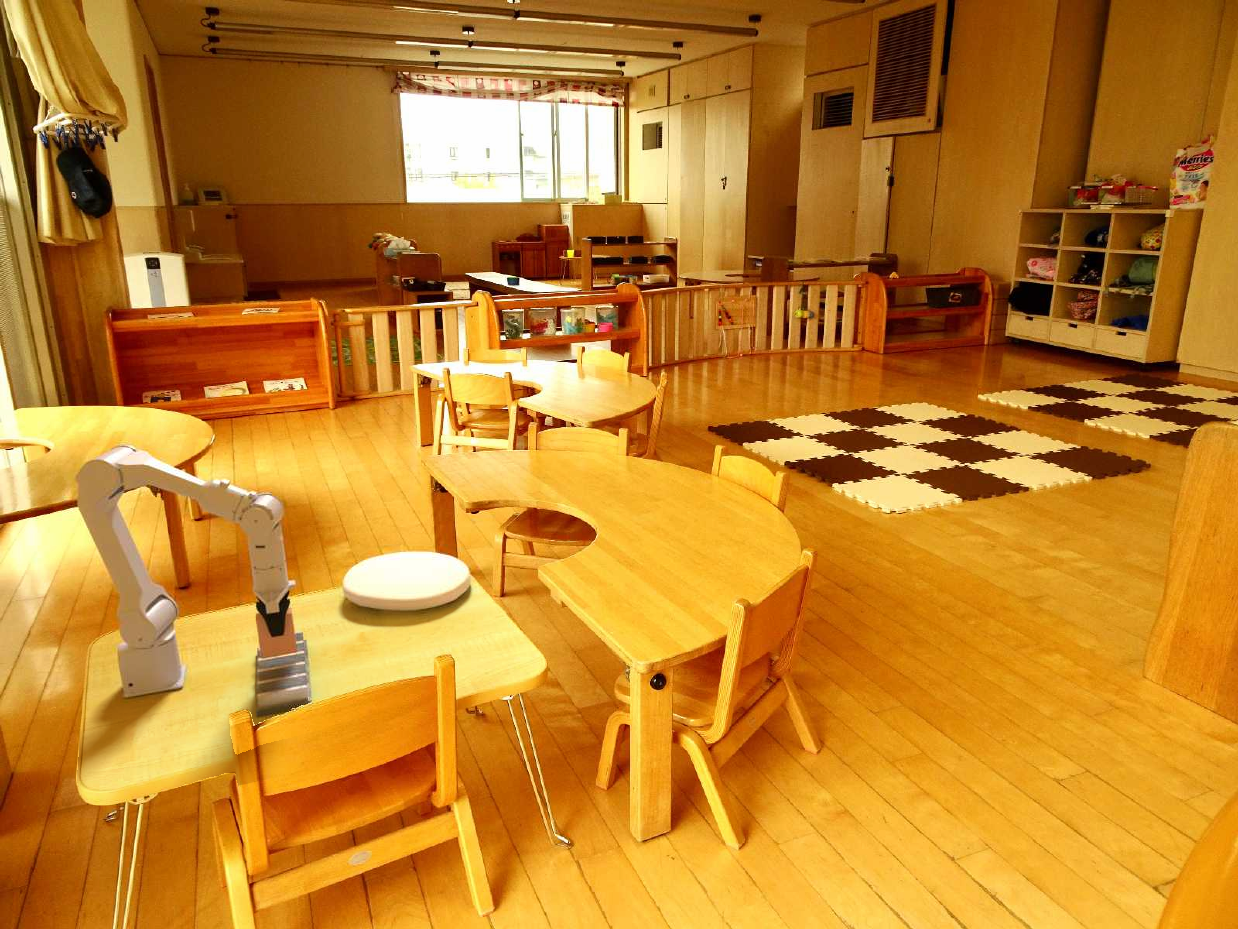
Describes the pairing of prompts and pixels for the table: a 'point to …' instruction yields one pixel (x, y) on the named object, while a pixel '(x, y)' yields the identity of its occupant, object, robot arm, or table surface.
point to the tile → (276, 638)
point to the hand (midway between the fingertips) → (277, 631)
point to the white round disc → (406, 581)
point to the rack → (283, 680)
